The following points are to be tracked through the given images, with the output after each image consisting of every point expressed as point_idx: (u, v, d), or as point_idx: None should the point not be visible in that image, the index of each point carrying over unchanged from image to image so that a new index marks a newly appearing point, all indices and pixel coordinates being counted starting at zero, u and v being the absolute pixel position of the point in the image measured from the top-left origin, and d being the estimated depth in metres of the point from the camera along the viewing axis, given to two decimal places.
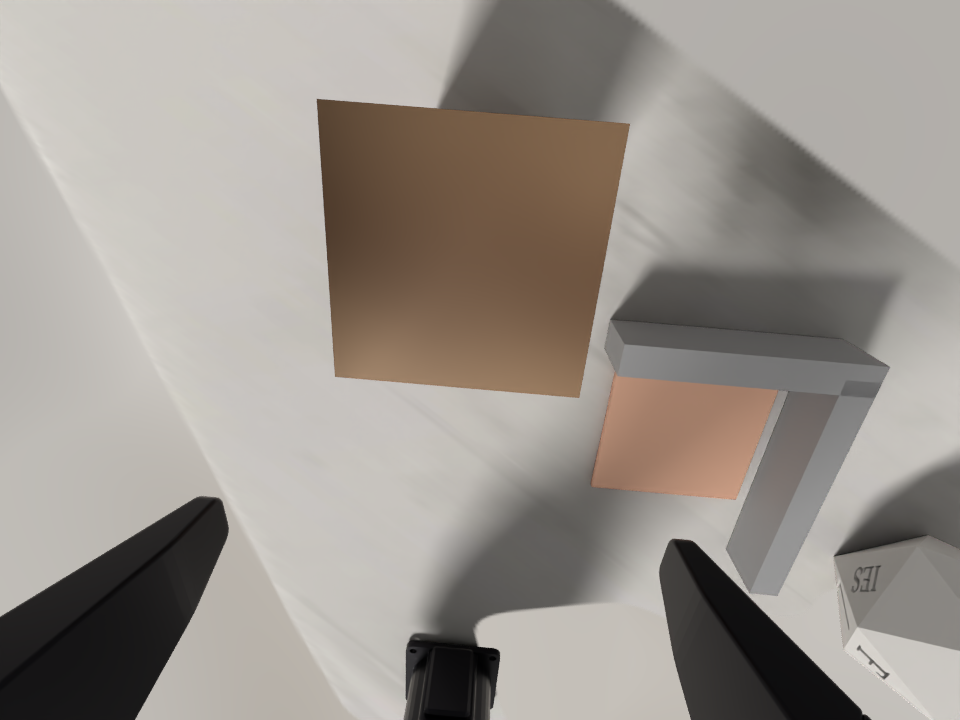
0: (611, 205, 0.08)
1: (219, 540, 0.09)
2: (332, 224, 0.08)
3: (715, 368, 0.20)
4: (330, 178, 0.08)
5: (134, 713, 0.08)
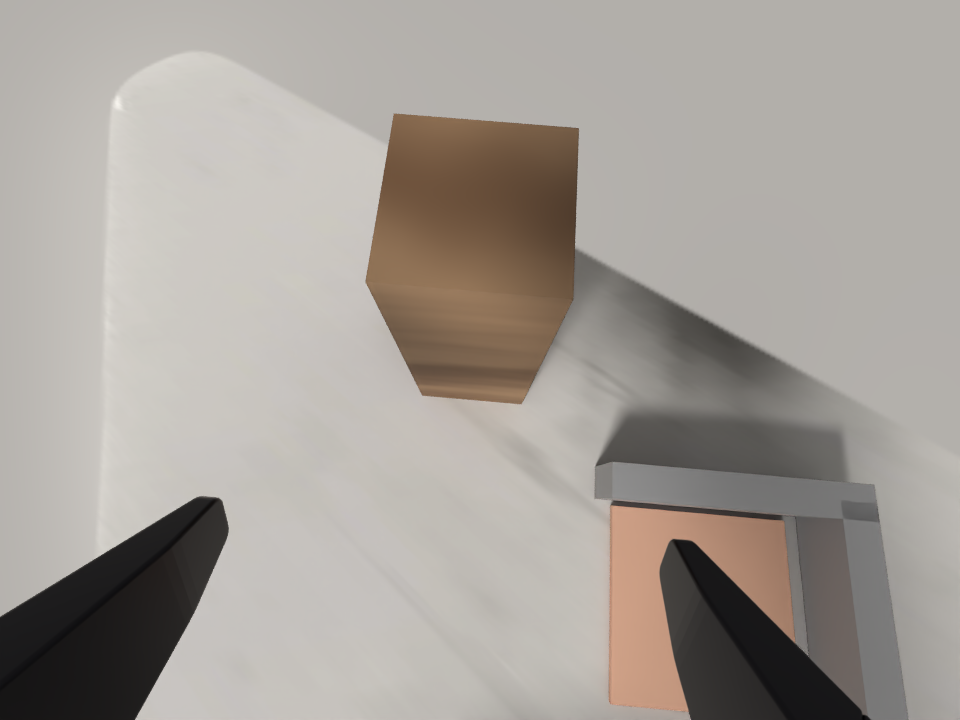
0: (575, 166, 0.12)
1: (219, 540, 0.09)
2: (388, 175, 0.12)
3: (707, 487, 0.20)
4: (393, 151, 0.12)
5: (134, 713, 0.08)
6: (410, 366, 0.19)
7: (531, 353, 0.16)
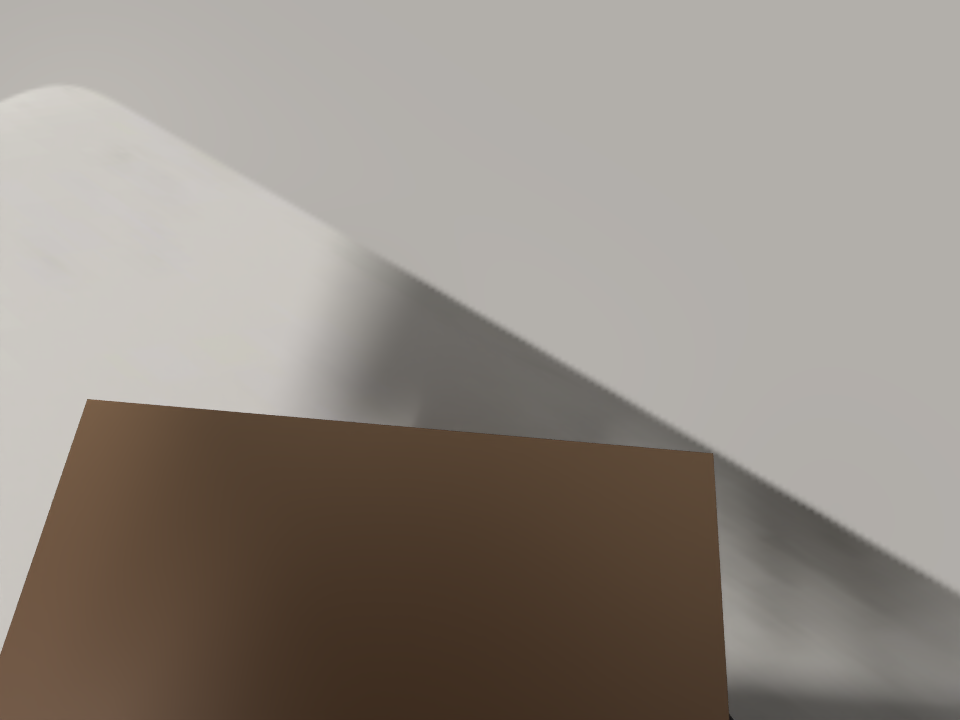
0: (717, 632, 0.03)
1: None
2: (12, 679, 0.03)
3: None
4: (56, 558, 0.03)
5: None
6: None
7: None
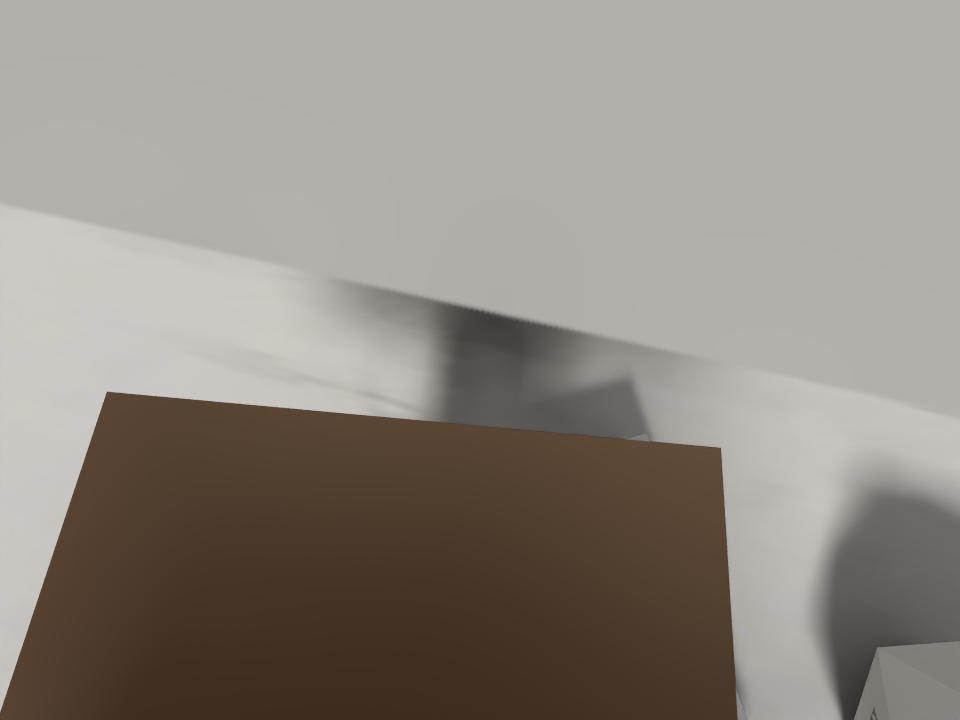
0: (725, 620, 0.03)
1: None
2: (36, 665, 0.03)
3: None
4: (77, 548, 0.04)
5: None
6: None
7: None
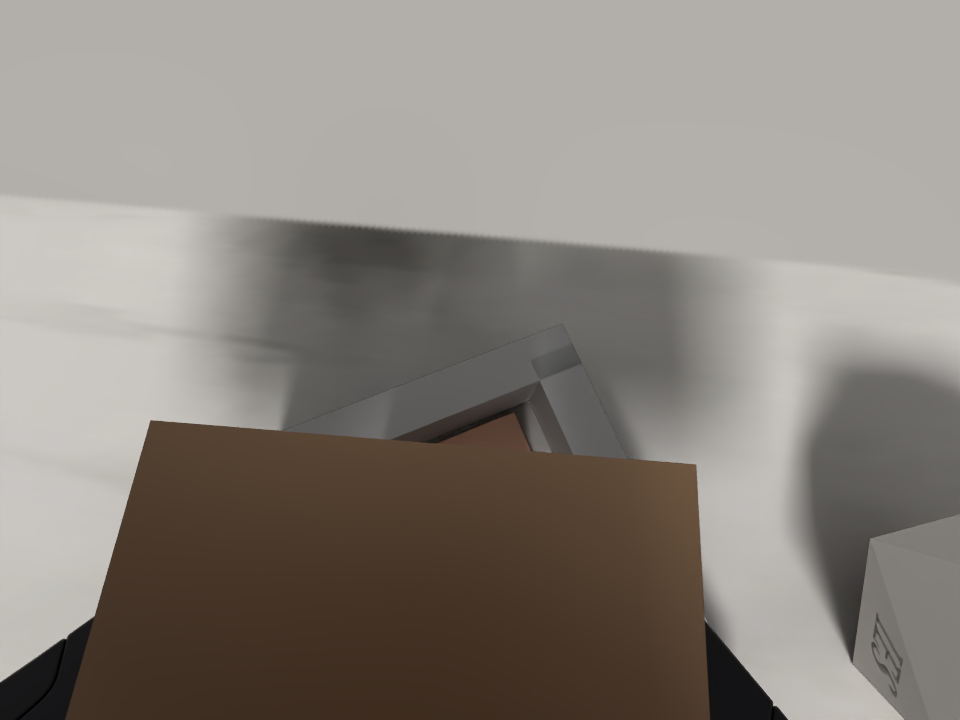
0: (698, 617, 0.04)
1: None
2: (98, 663, 0.04)
3: (366, 422, 0.15)
4: (130, 559, 0.04)
5: None
6: None
7: None
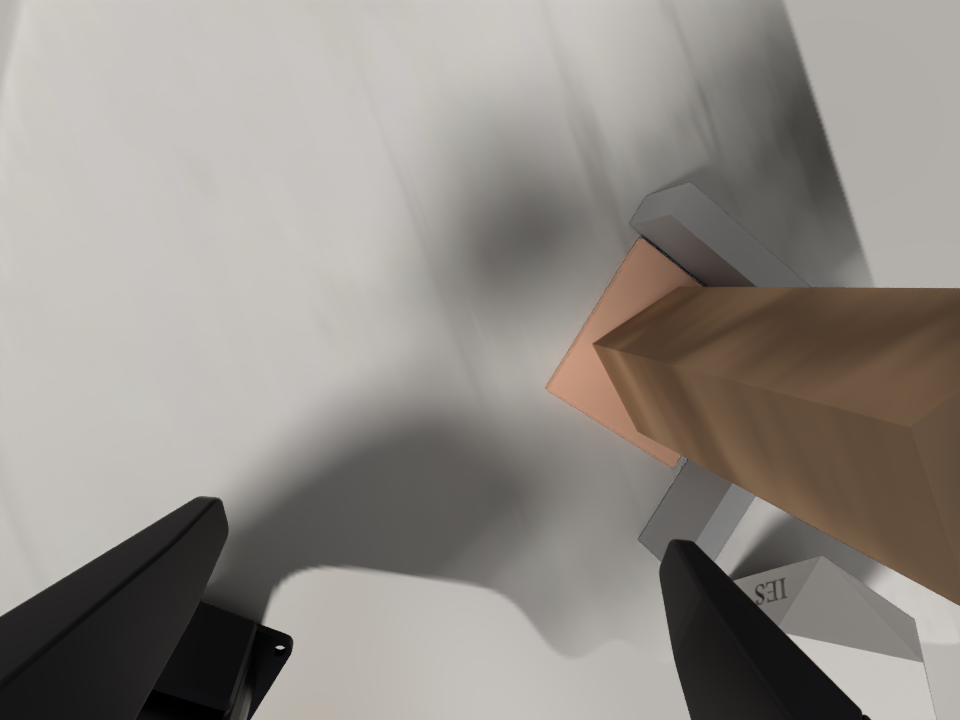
0: None
1: (219, 540, 0.09)
2: None
3: (748, 255, 0.19)
4: None
5: (134, 713, 0.08)
6: (666, 365, 0.16)
7: (785, 503, 0.14)
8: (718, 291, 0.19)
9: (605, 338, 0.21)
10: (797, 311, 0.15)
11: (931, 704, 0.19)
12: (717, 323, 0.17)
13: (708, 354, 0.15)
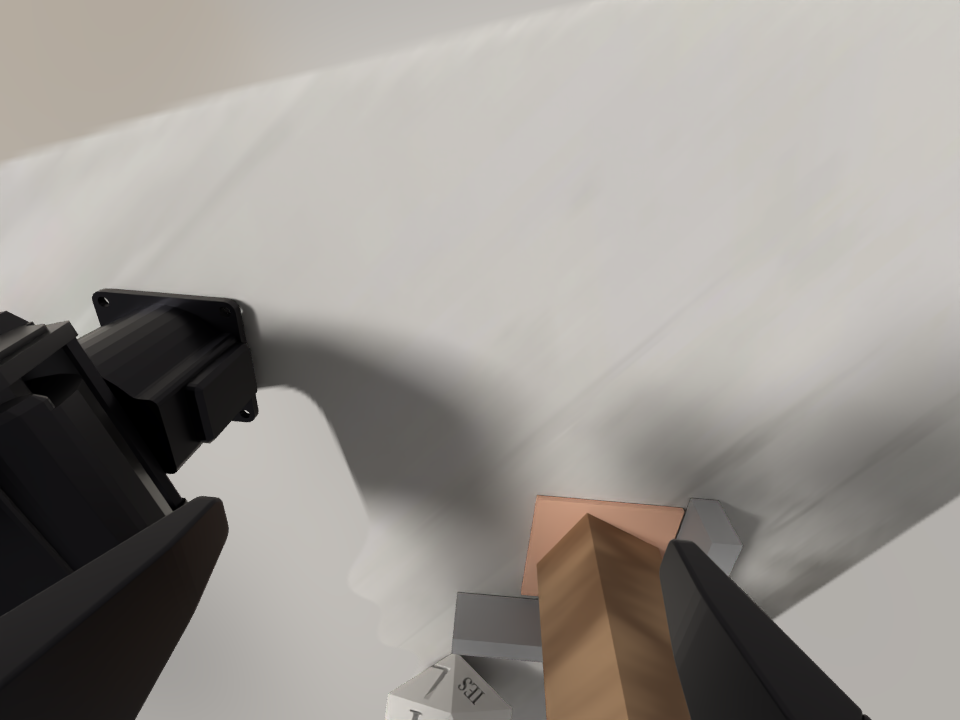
0: None
1: (219, 540, 0.09)
2: None
3: None
4: None
5: (134, 713, 0.08)
6: (603, 605, 0.21)
7: None
8: None
9: (596, 522, 0.26)
10: None
11: None
12: (647, 618, 0.22)
13: (625, 636, 0.20)
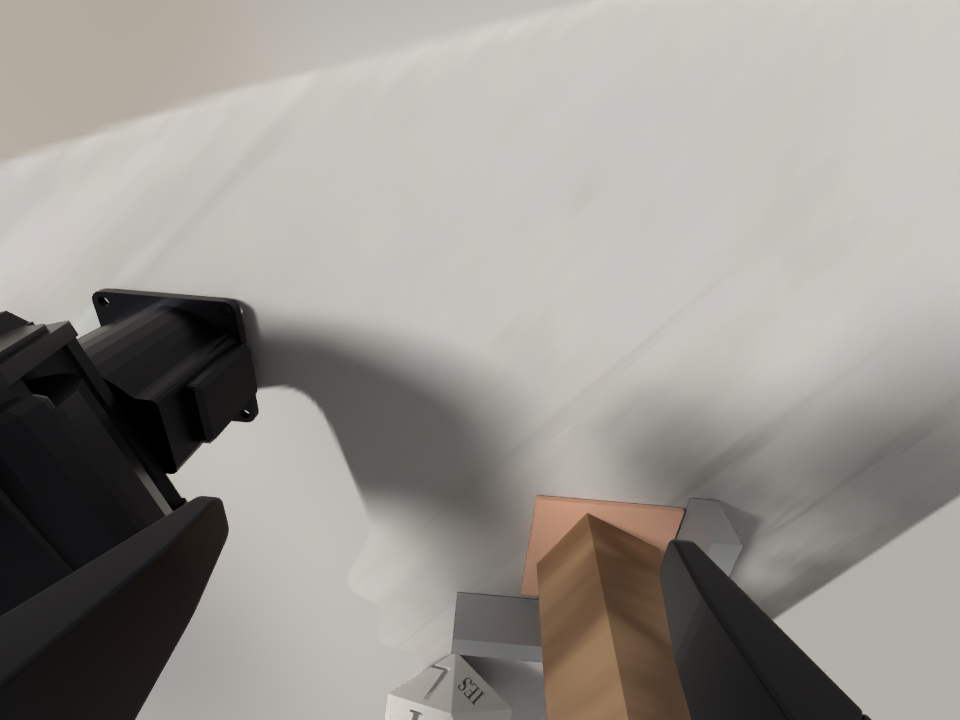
0: None
1: (219, 540, 0.09)
2: None
3: None
4: None
5: (134, 713, 0.08)
6: (603, 605, 0.21)
7: None
8: None
9: (596, 522, 0.26)
10: None
11: None
12: (647, 618, 0.22)
13: (625, 636, 0.20)
